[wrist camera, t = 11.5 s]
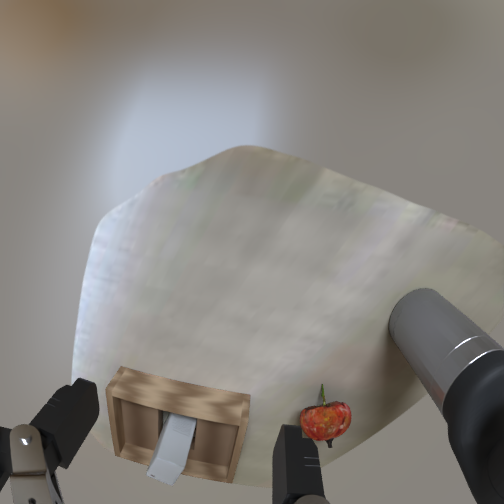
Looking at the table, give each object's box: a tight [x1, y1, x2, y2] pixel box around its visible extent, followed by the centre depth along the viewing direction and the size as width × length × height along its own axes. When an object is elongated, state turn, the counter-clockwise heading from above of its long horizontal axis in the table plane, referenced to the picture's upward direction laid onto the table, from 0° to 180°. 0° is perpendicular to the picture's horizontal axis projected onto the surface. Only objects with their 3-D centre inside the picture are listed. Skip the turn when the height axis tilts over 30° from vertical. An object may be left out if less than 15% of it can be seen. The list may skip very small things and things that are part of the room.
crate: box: [106, 366, 250, 483], centre depth 43 cm, size 20×16×6 cm
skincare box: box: [146, 412, 197, 485], centre depth 40 cm, size 6×4×12 cm
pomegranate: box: [300, 384, 351, 448], centre depth 41 cm, size 7×7×10 cm
